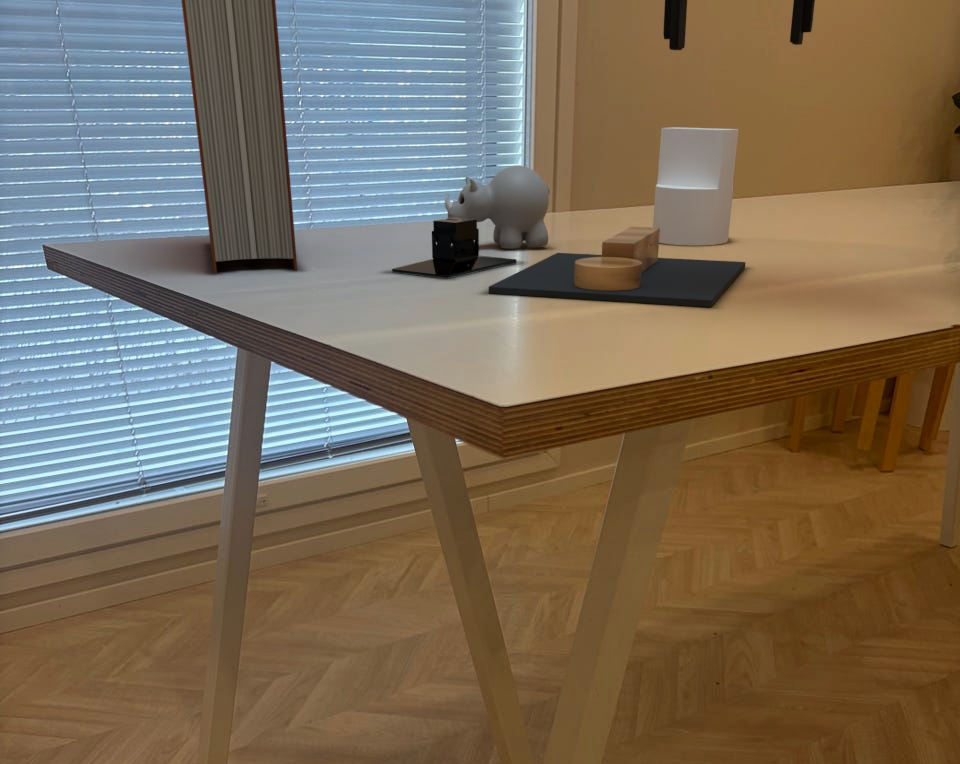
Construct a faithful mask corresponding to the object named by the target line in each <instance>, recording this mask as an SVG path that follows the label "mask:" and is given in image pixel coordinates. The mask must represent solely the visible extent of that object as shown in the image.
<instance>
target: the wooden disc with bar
mask: <svg viewBox="0 0 960 764" xmlns="http://www.w3.org/2000/svg"><path fill="white" fill-rule="evenodd" d="M659 236H660V228H653V226H652V227H649V226H648V227H647V226H630V227H628V228H626V229H624V230H622V231H620V232H619V233H616V234H615V235H613V236H611V237H609V238H607V239H606V240H604V241H602V243H601V255H602V257H592V258H583V259H579V260H576V261H575V269H574V285H575V286H576V287H578V288H582V289H587V290H596V291H624V290H632V289H636V288H639V287H640V285H641V273H642V272H643V271H644V270H646V269H647V268H649V267H650V266H651V265H653V264H654V263H655V262H657V261H658V258H659V247H660V243H659Z"/></svg>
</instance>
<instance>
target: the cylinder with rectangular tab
mask: <svg viewBox="0 0 960 764" xmlns="http://www.w3.org/2000/svg"><path fill="white" fill-rule="evenodd" d="M739 131H740V130H739V128H711V127H709V128H708V127H704V128H703V127H678V126H677V127H662V128H660V142H659V153H658V154H659V155H658V169H657V183H656V184H655V188H654V189H655V190H654V191H655V192H654V202H653V203H654V204H653V216H652V217H653V219H652V228H660V236H659V244H666V245H674V246H716V245H723V244H726V243H728V242H729V235H730V224H731V216H732V215H731V214H732V206H733V196H734V178H735V168H736V159H737V149H738V140H739V139H738V138H739Z"/></svg>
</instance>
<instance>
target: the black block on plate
mask: <svg viewBox="0 0 960 764" xmlns="http://www.w3.org/2000/svg"><path fill="white" fill-rule="evenodd" d="M432 222H433V230H432V231H431V257H432V258H430V259H426V260H423V261H419V262H415V263H410V264H406V265H403V266H398V267H394V268H392V269H391V272H392V273H395V274H403V275H411V276H420V277H426V278H427V277H428V278H438V279H443V280H444V279H451V278H452V279H453V278H457V277H460V276H465V275H468V274H469V275H470V274H474V273H478V272H482V271H486V270H487V271H488V270H491V269H494V268H500V267H504V266H512V265H515V264H517V262H518V261H517V259H516V258H508V257H507V258H506V257H497V256H489V255H488V256H486V255H480V245H479V244H480V230H479V228H478V222H477V219H468V218H456V217H454V218H448V217H447V218H444V219H443V218H442V219H436V220H433V221H432Z"/></svg>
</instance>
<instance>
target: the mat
mask: <svg viewBox="0 0 960 764" xmlns="http://www.w3.org/2000/svg"><path fill="white" fill-rule="evenodd" d="M592 257H602V254H592V253H571V252H570V253H569V252H556V253H554V254H551V255H550V256H548V257H546V258H544V259H542V260H540V261H538V262H536V263H534V264H532V265H529V266H528V267H526V268H524V269H521V270H520V271H517V272H516V273H513V274H511V275H509V276H507V277H505V278H503V279H501V280H499V281H497V282H495V283H493V284H491V285H489V286H488V294H494V295H510V296H511V295H512V296H524V297H525V296H526V297H540V298H541V297H543V298H556V299H558V298H559V299H572V300H573V299H574V300H587V301H588V300H589V301H606V302H621V303H634V304H635V303H637V304H651V305H652V304H653V305H669V306H683V307H684V306H685V307H701V308H712V307H713V305H714V304H715V303H716V302H717V301H718V300H719V299H720V297H721V296H722V295H723V294H724V293H725V292H726V290H727V289H728V288H729V287H730V286H731V285H732V284H733V282H734V281H736V279H737V278H738V277H739V276H740V275H741V273H742V272H743V271H744V270H745V269H746V262H745V261H733V260H731V261H730V260H713V259H711V260H710V259H694V258H693V259H692V258H675V257H674V258H672V257H670V258H669V257H658V261H657V262H655V263H654V264H653V265H651V266H650V267H649V268H647V269H646V270H644V271H643V272H642V273H641V285H640V287H639V288H636V289H632V290H624V291H596V290H587V289H582V288H578V287H576V286H575V285H574V269H575V261H576V260H579V259H583V258H592Z"/></svg>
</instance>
